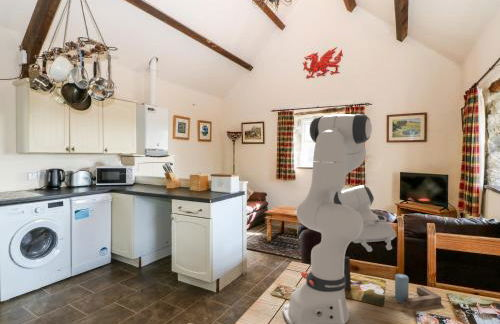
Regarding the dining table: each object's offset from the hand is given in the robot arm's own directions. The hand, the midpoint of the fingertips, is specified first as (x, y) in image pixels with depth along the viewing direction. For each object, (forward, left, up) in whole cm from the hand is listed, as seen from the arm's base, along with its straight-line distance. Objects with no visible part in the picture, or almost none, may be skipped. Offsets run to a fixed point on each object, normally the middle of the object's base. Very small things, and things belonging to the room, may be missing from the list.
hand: (380, 250), depth 114 cm
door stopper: (-16, +4, -15) cm, 22 cm away
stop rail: (+4, -13, -15) cm, 20 cm away
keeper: (0, -12, -15) cm, 19 cm away
